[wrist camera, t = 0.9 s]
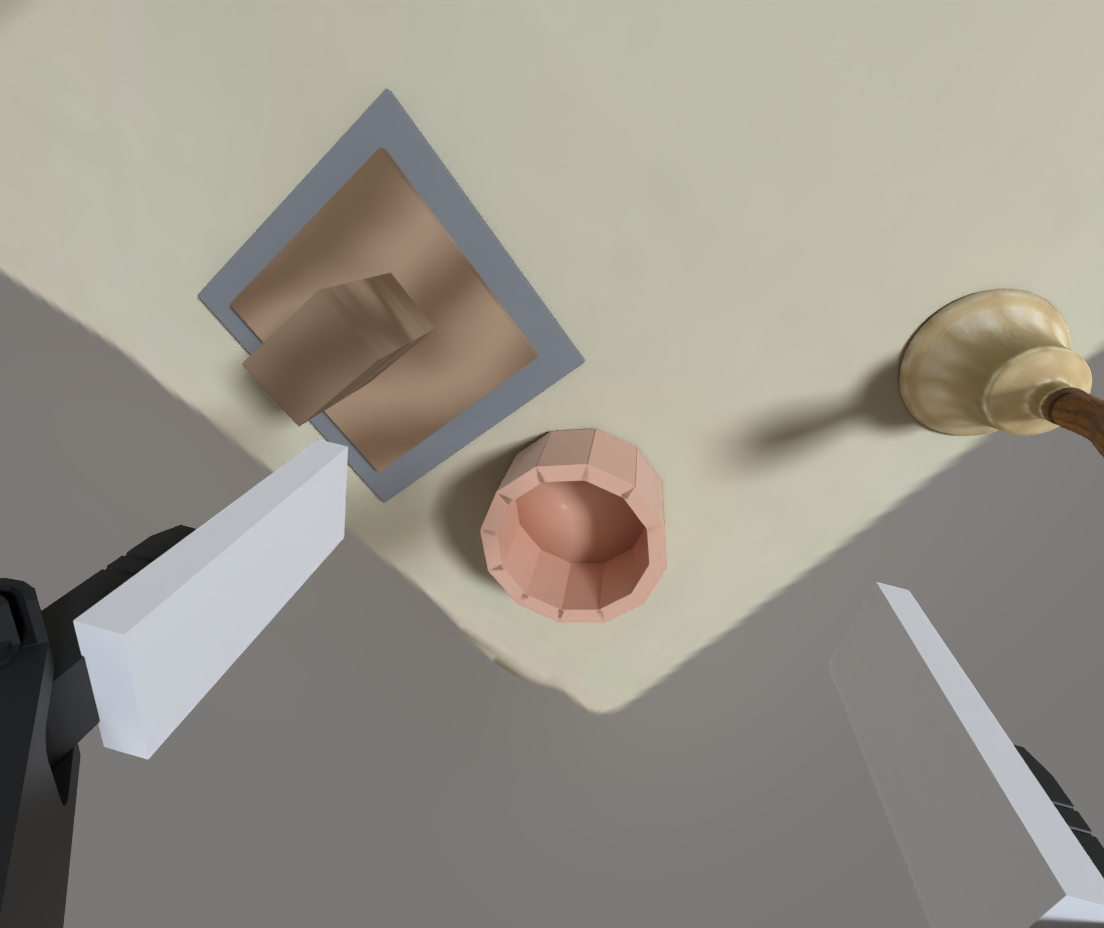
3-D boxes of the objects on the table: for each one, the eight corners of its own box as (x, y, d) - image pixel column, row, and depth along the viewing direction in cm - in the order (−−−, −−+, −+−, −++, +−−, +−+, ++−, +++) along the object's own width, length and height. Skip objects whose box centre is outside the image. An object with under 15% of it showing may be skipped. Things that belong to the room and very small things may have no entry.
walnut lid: (237, 302, 36) (121, 328, 28) (385, 149, 31) (295, 127, 23) (383, 468, 39) (317, 533, 31) (538, 354, 34) (505, 398, 26)
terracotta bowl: (474, 480, 39) (446, 523, 34) (601, 396, 35) (593, 429, 30) (566, 590, 42) (554, 646, 37) (694, 523, 38) (702, 575, 33)
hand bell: (875, 420, 33) (1047, 578, 19) (935, 276, 30) (1204, 337, 15) (1020, 446, 33) (1311, 631, 18) (1099, 302, 29) (1538, 392, 15)
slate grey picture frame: (203, 294, 37) (197, 295, 36) (390, 90, 30) (386, 88, 30) (387, 499, 41) (383, 502, 40) (584, 360, 35) (583, 362, 34)
